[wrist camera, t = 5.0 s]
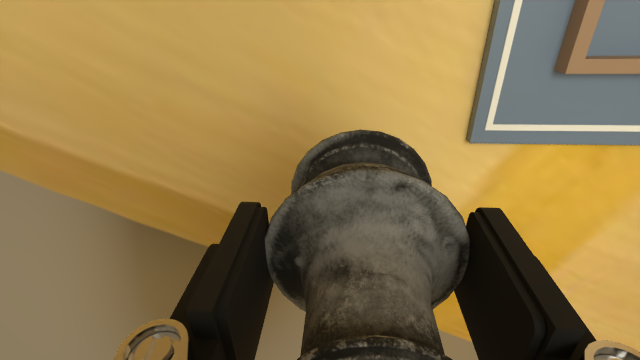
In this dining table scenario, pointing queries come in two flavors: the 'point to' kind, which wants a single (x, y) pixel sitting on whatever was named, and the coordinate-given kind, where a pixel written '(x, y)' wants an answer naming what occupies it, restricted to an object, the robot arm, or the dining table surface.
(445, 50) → the dining table surface
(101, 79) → the dining table surface
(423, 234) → the dark grey chess piece
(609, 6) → the board
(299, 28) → the dining table surface
